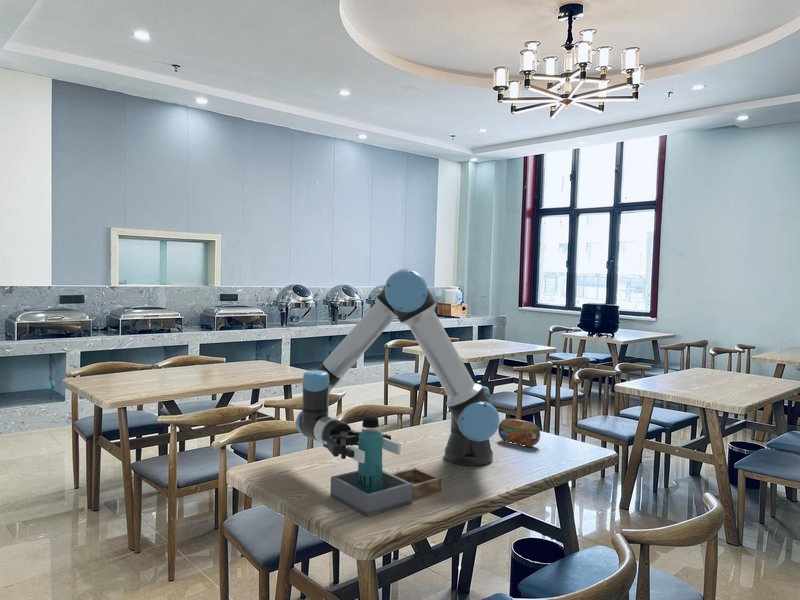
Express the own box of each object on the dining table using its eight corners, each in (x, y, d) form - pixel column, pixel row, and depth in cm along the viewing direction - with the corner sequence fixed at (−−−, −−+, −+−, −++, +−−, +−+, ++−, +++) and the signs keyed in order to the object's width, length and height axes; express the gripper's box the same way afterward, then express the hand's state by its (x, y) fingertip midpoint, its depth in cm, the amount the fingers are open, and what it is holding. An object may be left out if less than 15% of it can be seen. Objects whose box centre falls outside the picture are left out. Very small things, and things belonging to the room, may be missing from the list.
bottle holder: (414, 477, 165) (414, 467, 165) (441, 489, 156) (441, 478, 156) (383, 486, 158) (384, 475, 158) (410, 498, 149) (410, 487, 149)
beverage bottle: (381, 490, 152) (381, 414, 151) (384, 499, 145) (385, 420, 144) (356, 491, 151) (356, 414, 150) (358, 501, 144) (358, 421, 143)
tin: (497, 440, 204) (498, 416, 204) (501, 438, 207) (502, 415, 206) (536, 449, 195) (537, 424, 194) (541, 447, 197) (541, 423, 197)
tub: (373, 484, 159) (374, 466, 158) (412, 503, 146) (412, 483, 146) (330, 495, 150) (330, 476, 150) (367, 516, 137) (367, 496, 137)
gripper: (366, 439, 169) (416, 459, 152) (296, 453, 154) (342, 477, 137) (367, 414, 168) (417, 431, 151) (296, 425, 154) (343, 446, 137)
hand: (381, 453), depth 144 cm, fingers open, 10 cm apart
